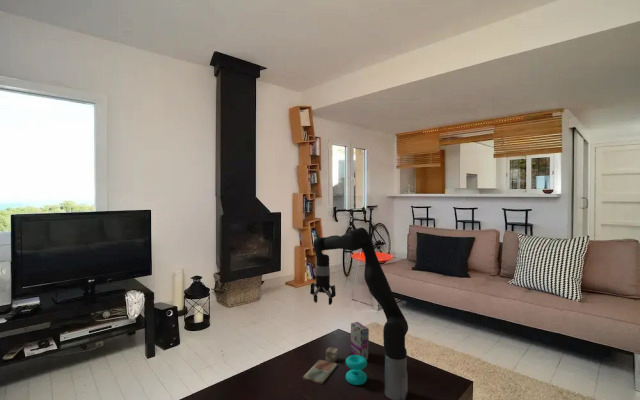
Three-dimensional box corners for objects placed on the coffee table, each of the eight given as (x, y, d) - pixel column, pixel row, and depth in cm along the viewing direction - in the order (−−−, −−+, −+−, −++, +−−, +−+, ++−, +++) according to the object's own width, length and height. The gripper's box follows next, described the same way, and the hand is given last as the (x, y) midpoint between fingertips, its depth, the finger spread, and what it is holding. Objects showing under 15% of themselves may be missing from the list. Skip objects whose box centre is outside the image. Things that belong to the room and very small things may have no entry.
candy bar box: (369, 359, 169) (369, 328, 169) (361, 361, 167) (361, 330, 167) (357, 350, 179) (358, 321, 179) (350, 352, 177) (350, 322, 177)
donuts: (341, 360, 148) (351, 351, 156) (341, 381, 148) (351, 372, 156) (361, 366, 143) (370, 357, 151) (361, 388, 143) (370, 378, 151)
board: (337, 365, 162) (337, 363, 162) (322, 384, 146) (322, 381, 146) (319, 361, 167) (319, 359, 167) (303, 378, 150) (303, 376, 150)
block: (338, 358, 170) (338, 349, 170) (334, 362, 166) (334, 353, 166) (329, 356, 172) (329, 347, 172) (325, 360, 168) (325, 351, 168)
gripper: (337, 273, 175) (337, 303, 175) (314, 271, 181) (314, 299, 181) (332, 276, 168) (331, 307, 168) (308, 273, 174) (308, 303, 174)
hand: (322, 303), depth 174 cm, fingers open, 8 cm apart
